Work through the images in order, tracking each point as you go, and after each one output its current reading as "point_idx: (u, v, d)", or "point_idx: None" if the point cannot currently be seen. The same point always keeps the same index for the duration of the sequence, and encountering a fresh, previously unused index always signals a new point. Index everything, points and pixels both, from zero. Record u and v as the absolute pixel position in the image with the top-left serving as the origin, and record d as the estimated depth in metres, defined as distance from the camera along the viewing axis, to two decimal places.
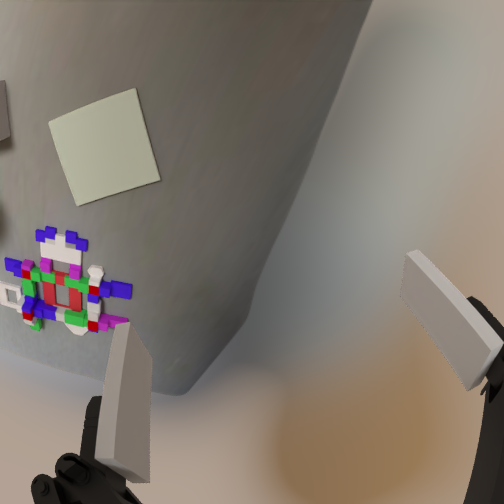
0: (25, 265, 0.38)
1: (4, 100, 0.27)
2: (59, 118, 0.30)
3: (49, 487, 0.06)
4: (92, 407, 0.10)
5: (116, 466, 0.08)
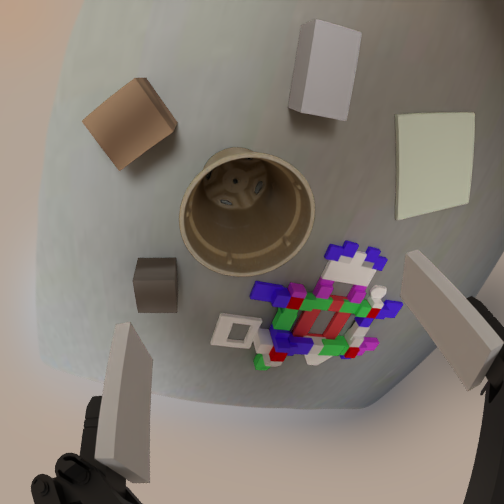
0: (299, 291, 0.35)
1: None
2: (411, 116, 0.27)
3: (49, 487, 0.06)
4: (92, 407, 0.10)
5: (117, 467, 0.08)
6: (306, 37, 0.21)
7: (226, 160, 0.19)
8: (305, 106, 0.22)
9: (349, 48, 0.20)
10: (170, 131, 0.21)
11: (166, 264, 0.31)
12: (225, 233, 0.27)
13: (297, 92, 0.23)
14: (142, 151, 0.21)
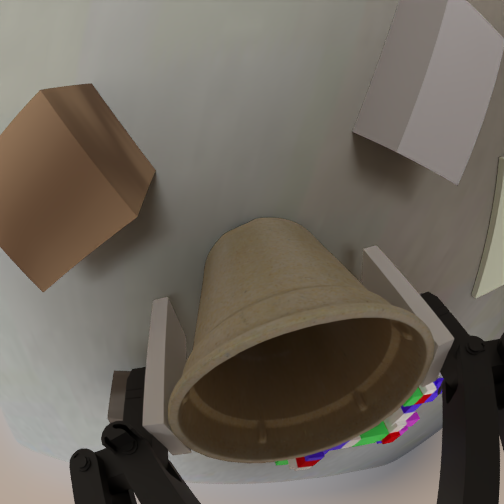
0: None
1: None
2: None
3: (91, 463, 0.07)
4: (133, 379, 0.11)
5: (163, 434, 0.09)
6: (419, 14, 0.09)
7: (279, 333, 0.07)
8: (408, 142, 0.10)
9: (488, 57, 0.08)
10: (131, 216, 0.09)
11: None
12: (251, 375, 0.15)
13: (387, 108, 0.11)
14: (77, 258, 0.09)
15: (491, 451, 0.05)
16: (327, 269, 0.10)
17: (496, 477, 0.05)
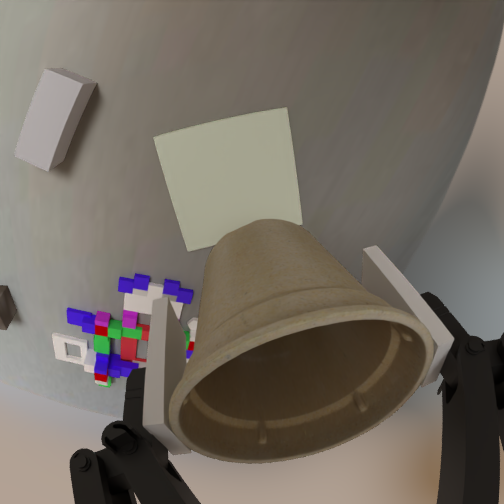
0: (101, 320, 0.34)
1: (82, 111, 0.23)
2: (172, 134, 0.26)
3: (91, 463, 0.07)
4: (133, 379, 0.11)
5: (163, 434, 0.09)
6: None
7: (279, 335, 0.07)
8: (18, 151, 0.20)
9: (65, 99, 0.19)
10: None
11: None
12: (251, 376, 0.15)
13: None
14: None
15: (491, 452, 0.05)
16: (327, 271, 0.10)
17: (496, 477, 0.05)
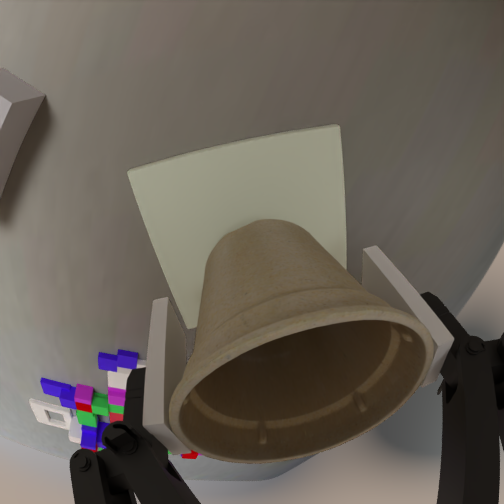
0: (82, 398, 0.24)
1: (20, 139, 0.13)
2: (157, 167, 0.16)
3: (91, 463, 0.07)
4: (133, 379, 0.11)
5: (162, 434, 0.09)
6: None
7: (279, 335, 0.07)
8: None
9: None
10: None
11: None
12: (251, 376, 0.15)
13: None
14: None
15: (491, 451, 0.05)
16: (327, 271, 0.10)
17: (496, 477, 0.05)
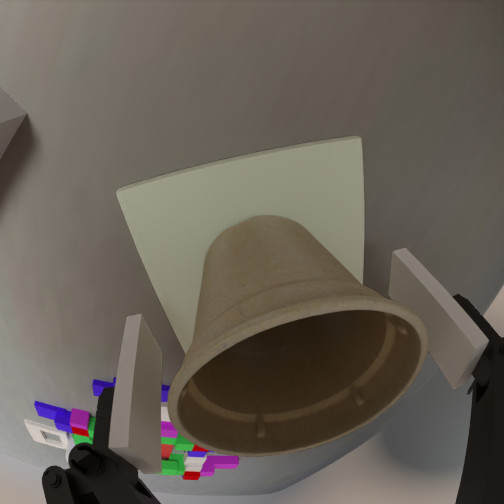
0: (77, 423, 0.22)
1: None
2: (150, 186, 0.14)
3: (61, 479, 0.07)
4: (104, 398, 0.10)
5: (130, 456, 0.08)
6: None
7: (274, 324, 0.07)
8: None
9: None
10: None
11: None
12: (249, 370, 0.15)
13: None
14: None
15: None
16: (322, 264, 0.11)
17: None
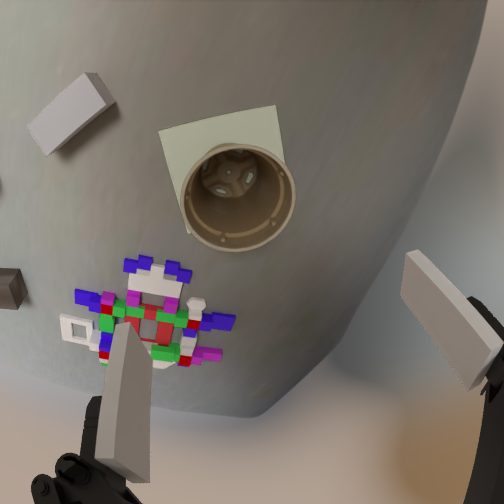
0: (106, 299, 0.37)
1: None
2: (175, 128, 0.29)
3: (49, 487, 0.06)
4: (92, 407, 0.10)
5: (116, 466, 0.08)
6: None
7: (219, 150, 0.23)
8: (31, 125, 0.23)
9: (86, 109, 0.24)
10: None
11: (11, 273, 0.33)
12: (220, 216, 0.30)
13: None
14: None
15: None
16: None
17: None
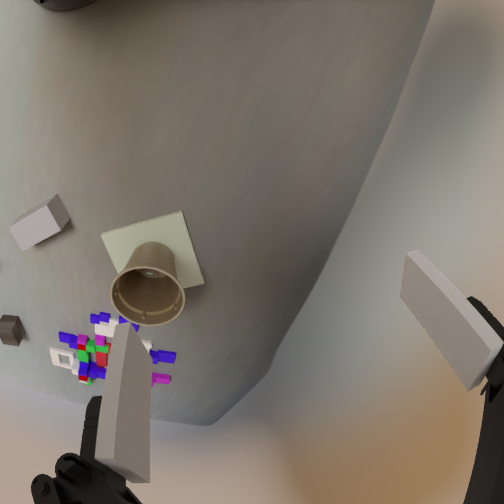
0: (81, 340, 0.48)
1: None
2: (111, 232, 0.40)
3: (49, 487, 0.06)
4: (92, 407, 0.10)
5: (116, 466, 0.08)
6: (43, 204, 0.35)
7: (128, 270, 0.34)
8: (11, 228, 0.34)
9: (48, 229, 0.35)
10: None
11: (12, 320, 0.44)
12: (145, 297, 0.41)
13: (20, 218, 0.35)
14: None
15: None
16: (151, 258, 0.37)
17: None
